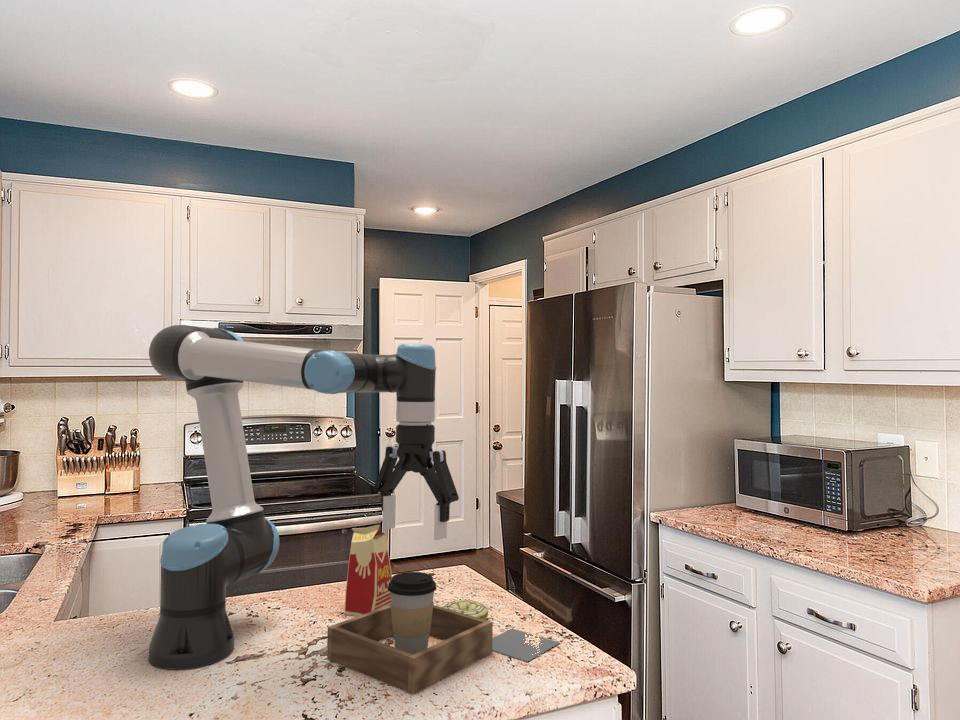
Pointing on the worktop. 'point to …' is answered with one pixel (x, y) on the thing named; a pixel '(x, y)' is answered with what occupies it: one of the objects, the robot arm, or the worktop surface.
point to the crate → (401, 669)
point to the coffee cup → (411, 610)
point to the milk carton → (368, 572)
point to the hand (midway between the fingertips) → (413, 533)
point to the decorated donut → (468, 608)
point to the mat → (520, 645)
